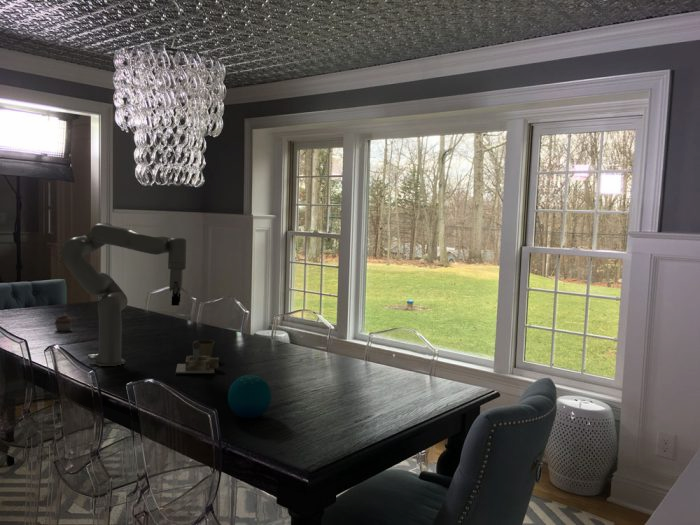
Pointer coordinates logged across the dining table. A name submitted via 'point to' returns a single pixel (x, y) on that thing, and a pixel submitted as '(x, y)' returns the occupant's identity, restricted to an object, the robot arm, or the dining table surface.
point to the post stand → (195, 358)
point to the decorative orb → (249, 396)
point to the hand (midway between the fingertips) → (175, 303)
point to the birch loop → (201, 363)
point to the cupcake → (63, 323)
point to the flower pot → (206, 347)
